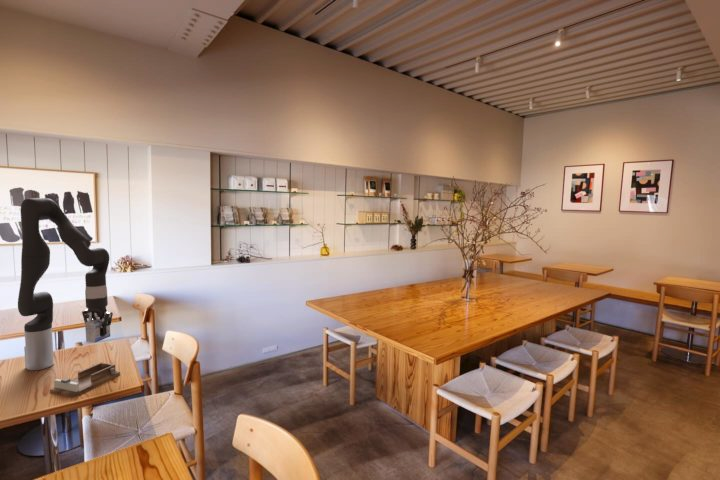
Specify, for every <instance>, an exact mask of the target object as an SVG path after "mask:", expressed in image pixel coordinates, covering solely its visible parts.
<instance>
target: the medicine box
mask: <svg viewBox="0 0 720 480" xmlns="http://www.w3.org/2000/svg"><path fill="white" fill-rule="evenodd" d="M101 320H103V319H101ZM107 323H108V322H107ZM102 324H104V323H103V322H102ZM84 326H85V327H84V329H85V342H88V343H98V342H101V341H103V340H105V339H108V338H110V337H111V325H109V326H107V327H106V330H107V333H106V335H105V336H100V325H99V323H98V321H97V320H96V319H95V320H91V321H88V322H84Z"/></svg>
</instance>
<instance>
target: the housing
mask: <svg viewBox="0 0 720 480" xmlns="http://www.w3.org/2000/svg"><path fill="white" fill-rule="evenodd" d="M119 375H121V372H120V371H116V364H113V363H108V362H103V361H102V362H99V363H96V364H92V366H90V367H87V368H85V369H82V370H80V371H78V372H77V376H76V377H75V378H72V379H70V381H71V382H76V383H79V391H77V392H74V391H69V390H64V389H60V388H55V386H54V387H52V388H50V389H49V392H50V393H51V394H57V395H61V396H65V397H71V398H75V397H78V396H79V395H81V394H83V393H85V392H87V391H89V390H91V389H94V388H96V387H98V386H99V385H102V384H104V383H106V382H109V381H110V380H112V379H113V378H116V377H118V376H119Z"/></svg>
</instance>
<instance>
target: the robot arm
mask: <svg viewBox="0 0 720 480" xmlns="http://www.w3.org/2000/svg"><path fill="white" fill-rule="evenodd" d="M20 220H21V221H20V223H21V232H22V237H21V238H22V239H21V243H22V245H21V256H20V257H21V261H20V262H21V263H20V264H21V267H20V269H21V270H20V272H21V274H20V285H19V291H18V298H17V310H18V312H19V314H20V315H21V316H22V317H31V316H35V315H36V316H35V317H34V318H33V319H31V320H29V321H28V322H26V323H25V324H24V327H23V328H24V329H23V330H24V342H25V346H24V362H25V363H24V364H25V367H24V368H26V370H27V371H38V370H39V371H40V370H44V369H47V368H50V367H51V366H53V365H54V364H55V361H54V341H53V340H54V339H53V322H54V300H53V297H52V294H50V292H48V291H41V292H35V288H36V285H37V284H38V282H39V281H40V280H41V278H42V277H43V276H44V274H45V273H46V271H48V269H49V267H50V262H51V261H50V260H51V249H50V247H49V245H48V243H47V242H46V240H45V239H44V238H43V237H42V235H41V232H40V221H47V220H49V221H50V222H52V223H53V224H55V225H56V227H57V229H58V235H59V237H60V239H61V241H62V242H63V243H64V244H65V245H66V246H68V247H69V248H70V249H71V250H72V252H73V253H74V255H75V256H76V258H77V260H78V261H79V263H80V264H82V265H83V266H85V267H92V269H91V270H89V271H88V272H86V273H85V274H84V275H85V276H84V278H85V280H84V281H85V290H84V291H85V293H84V294H85V308H86V309H85V310H83V311H81V314H82V317H83V321H84V323H85V322H88V321H91V320H95V319H96V320H97V321H98V323H99V325H100V336H105V335H106V333H107V330H106V327H107V326H109V325H110V326H111V325H112V320H113V311H111V312H109V311H108V310H107V307H108V305H109V302H108V300H109V299H108V288H107V287H108V286H107V272H108V268H109V264H110V254H109V252H108V251H107V249H105V248H103V247H97V248H90V247H91V244H92V242H91V240H90V239H89V238H88V237H87V236H86V235H85V234H83V233H82V232H81V231H80V230H79V228H77V227H76V226H75V225H74V224H73V223H72V222H71V220H70V218H68V216H67V215H66V214H65V212H64V211H63V210H62V208H61V207H60V206H59V204H58V203H56V202H55V201H54V200H53V199H51V198H47V197H35V198H34V197H33V198H32V197H30V198H25V199H24V200H23V201H22V202H21V205H20ZM101 319H103V320H101ZM102 322H103V323H104V324H102ZM107 322H108V323H107Z"/></svg>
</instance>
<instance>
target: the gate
mask: <svg viewBox="0 0 720 480" xmlns="http://www.w3.org/2000/svg"><path fill="white" fill-rule="evenodd" d="M70 380H71V378H68V377H65V378H63V379H61V378H55V379H54V380H53V382H54V383H53V384H54V385H53V386H54V387H55V388H60V389H64V390H69V391H74V392H77V391H79V383H76V382H71V381H70Z"/></svg>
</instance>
